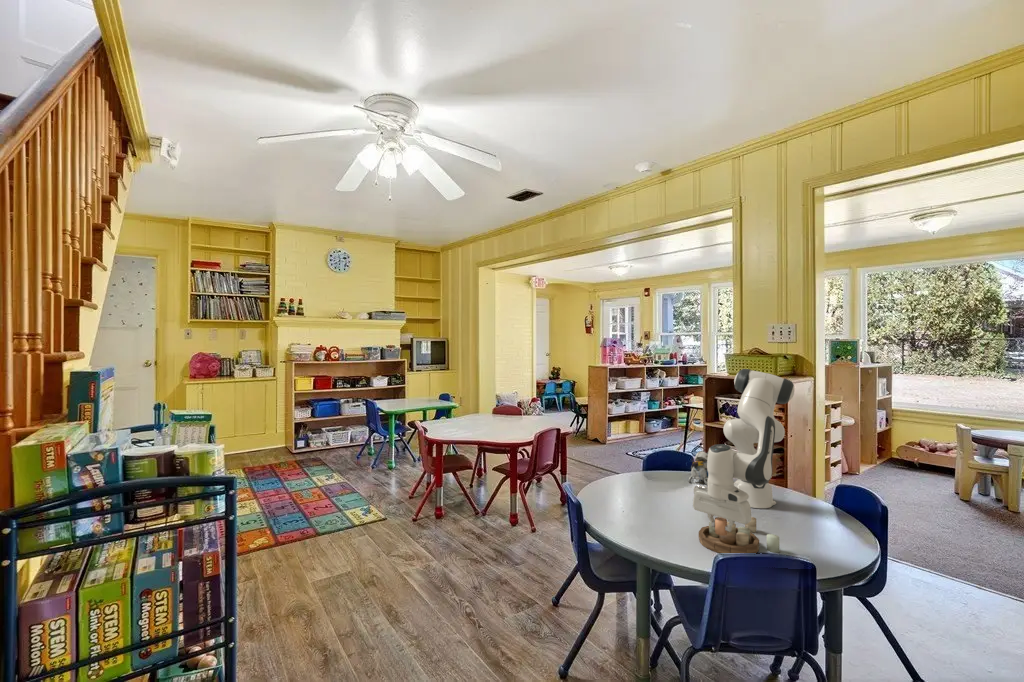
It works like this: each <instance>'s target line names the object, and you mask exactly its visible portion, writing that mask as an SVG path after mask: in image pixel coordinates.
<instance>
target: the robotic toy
mask: <svg viewBox="0 0 1024 682" xmlns="http://www.w3.org/2000/svg"><path fill="white" fill-rule="evenodd" d="M707 459H708V452H705V451H704V450H699V451H696V452H695V456H694V457H693V459H692V465H691V466H690V469H691V471H690V477H689V478H688V483H691V482H692V480H696V481H698V480H699V481H703V483H704V485H707V479H708V470H707ZM689 462H691V460H689ZM689 462H686V463H685V464H686V465H687V463H689Z"/></svg>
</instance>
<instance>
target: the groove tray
mask: <svg viewBox="0 0 1024 682" xmlns="http://www.w3.org/2000/svg"><path fill="white" fill-rule="evenodd" d="M727 525H729V522H728V521H727ZM698 540H699V543H700V545H702V546H703V547H704V548H705V549H708V550H710V551H712V552H715V553H717V554H720V553H756V554H758V553H759V552H760V539H759V537H757V536H756V535H755V533H750V529H748V528H746V527H745V526H738V527H737V526H736V523H735V522H734V524H733V525H732V530H731V532H728V531H727V535H718V534H716V533H715V527H712V526H711V522H710V521H709V522H708V525H706V526H702V527H701V528H700V530H698ZM757 552H758V553H757Z"/></svg>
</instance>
